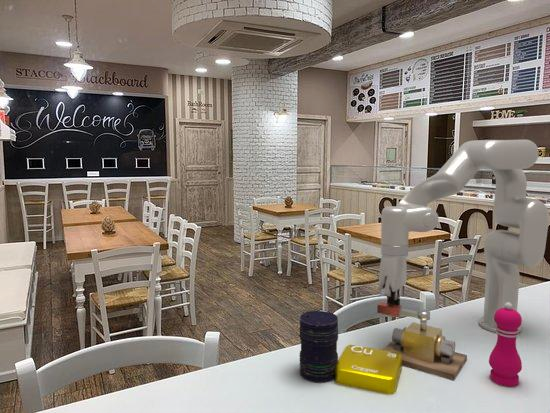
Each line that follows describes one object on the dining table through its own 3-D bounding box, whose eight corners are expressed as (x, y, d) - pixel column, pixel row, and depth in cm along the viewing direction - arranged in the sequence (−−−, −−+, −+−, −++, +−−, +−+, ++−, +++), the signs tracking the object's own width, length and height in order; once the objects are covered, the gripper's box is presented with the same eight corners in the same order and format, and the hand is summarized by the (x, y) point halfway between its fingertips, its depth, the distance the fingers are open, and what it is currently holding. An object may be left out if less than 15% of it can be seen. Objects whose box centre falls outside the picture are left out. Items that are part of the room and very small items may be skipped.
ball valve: (398, 342, 126) (399, 309, 124) (456, 357, 116) (458, 321, 115) (389, 351, 120) (390, 316, 119) (449, 367, 111) (450, 330, 109)
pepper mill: (525, 389, 103) (530, 308, 100) (492, 386, 104) (497, 306, 102) (515, 374, 110) (519, 298, 108) (484, 371, 111) (488, 296, 109)
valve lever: (431, 319, 117) (431, 311, 117) (428, 323, 115) (428, 314, 114) (381, 309, 125) (381, 301, 125) (377, 312, 123) (377, 304, 122)
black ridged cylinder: (341, 367, 114) (341, 313, 113) (333, 386, 105) (334, 327, 103) (304, 361, 118) (304, 308, 116) (294, 379, 108) (294, 322, 107)
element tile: (332, 384, 107) (332, 366, 106) (347, 358, 120) (347, 341, 120) (394, 397, 101) (395, 378, 100) (402, 368, 114) (403, 350, 114)
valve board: (395, 341, 129) (395, 337, 129) (466, 360, 117) (467, 355, 117) (378, 358, 119) (378, 353, 119) (454, 380, 107) (454, 374, 107)
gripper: (391, 243, 131) (390, 301, 134) (371, 253, 119) (370, 316, 122) (416, 246, 127) (414, 306, 129) (397, 256, 115) (396, 322, 117)
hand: (393, 311), depth 125 cm, fingers closed
